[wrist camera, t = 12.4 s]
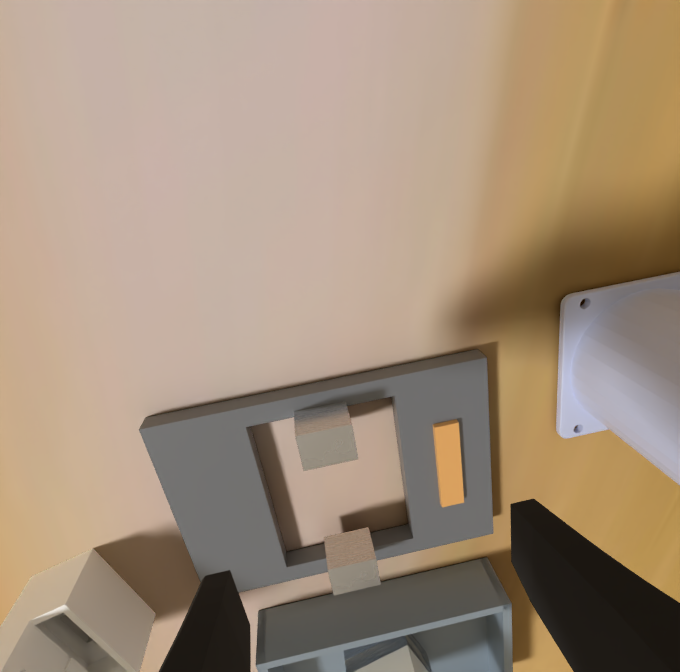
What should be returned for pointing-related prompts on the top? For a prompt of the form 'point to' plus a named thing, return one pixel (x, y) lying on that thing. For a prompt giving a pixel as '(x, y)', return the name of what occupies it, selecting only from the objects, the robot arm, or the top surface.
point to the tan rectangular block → (388, 656)
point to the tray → (396, 623)
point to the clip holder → (323, 450)
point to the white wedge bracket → (76, 621)
